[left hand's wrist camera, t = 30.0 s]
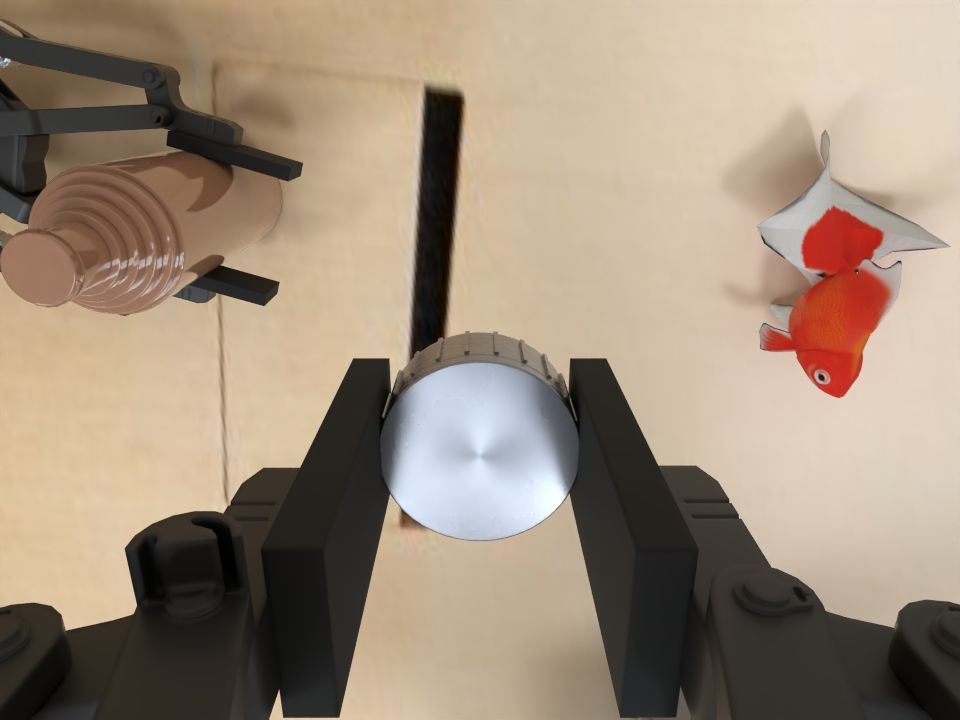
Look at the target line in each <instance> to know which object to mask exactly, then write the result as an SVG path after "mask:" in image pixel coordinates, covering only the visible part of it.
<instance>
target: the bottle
mask: <svg viewBox="0 0 960 720" xmlns="http://www.w3.org/2000/svg"><path fill="white" fill-rule="evenodd" d="M281 207H282V193H281V188H280V184H279V181H278V178H275V177H272V176H268V175H265V174H261V173H258V172H255V171H251V170H248V169H245V168H241V167H238V166H234V165H231V164H228V163H224V162H221V161H217V160H214V159H211V158H207V157H204V156H201V155H197V154H194V153H190V152H187V151H184V150H180V149H178V150H172V151H166V152H160V153H154V154H148V155H142V156H136V157H130V158H125V159H119V160H113V161H107V162H101V163H95V164H89V165H83V166H78V167H75V168H71V169H69V170H67V171H65V172H62V173H61V174H59V175H58V176H56V177H55V178H54V179H52V180H51V181H50V182H49V183H48V184H47V185H46V187H45V188H44V189H43V190H42V192H41V193H40V194H39V196H38V197H37V199H36V201H35V202H34V204H33V207H32V210H31V213H30V217H29V223H28V229H26V230H24V231H21V232H18V233H16V234H15V235H14V236H13V237H11V238H10V239H9V240H8V242H7V243H6V244H5V246H4V248H3V250H2V252H1V256H0V267H1V271H2V274H3V277H4V279H5V281H6V283H7V284H8V285H9V287H10V288H11V289H12V290H13V291H14V292H15V293H16V294H17V295H18V296H20V297H21V298H23V299H24V300H26V301H28V302H31V303H33V304H35V305H37V306H43V307H58V306H60V305H63V304H66V303H67V302H70V301H73V302H74V303H76V304H78V305H80V306H82V307H85V308H87V309H90V310H93V311H97V312H101V313H109V314H134V313H139V312H143V311H146V310H149V309H151V308H153V307H155V306H157V305H158V304H160V303H162V302H163V301H165V300H166V299H168V298H170V297H171V296H173V295H174V294H176V293H177V292H179V291H180V290H182V289H184V288H185V287H187V286H188V285H190V284H191V283H193V282H194V281H196V280H198V279H199V278H201V277H202V276H204V275H205V274H207V273H208V272H210V271H212V270H213V269H215V268H216V267H218V266H219V265H221V264H222V263H224V262H226V261H227V260H229V259H230V258H232V257H233V256H235V255H236V254H238V253H240V252H241V251H243V250H244V249H246V248H247V247H249V246H250V245H252V244H253V243H255V242H257V241H258V240H260V239H261V238H263V237H264V236H266V235H267V234H268V233H269V232H270V231H271V230H272V229H273V227H274V226H275V224H276V223H277V220H278V218H279V216H280V212H281Z"/></svg>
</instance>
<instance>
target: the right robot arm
mask: <svg viewBox="0 0 960 720" xmlns="http://www.w3.org/2000/svg"><path fill="white" fill-rule="evenodd" d="M21 63H23V64H28V65H33V66H38V67H43V68H48V69H53V70H58V71H63V72H67V73H72V74H77V75H82V76H87V77H92V78H97V79H102V80H107V81H112V82H116V83H121V84H126V85H131V86H136V87H141V88H145V92H146V97H147V101H148V104H145V105H124V106H104V107H84V108H64V109H44V110H30V109H29V108H28V107H27V106H26V105H25V104H24V103H23V102H22V101H21V100H20V99H19V98H18V96H17V95H16V94H15V93H14V92H13V91H12V90H11V89H10V88H9V87H8V86H7V85H6V84H5V83H4V82H3V81H2V79H1V78H0V213H2V212H3V213H5V214H6V215H8V216H9V217H11V218H13V219H14V220H16V221H18V222H20V223H24V224H28V223H29V217H30V213H31V210H32V207H33V204H34V202H35V201H36V199H37V197H38V196H39V194H40V193H41V192H42V190H43V189H44V188H45V187H46V177H47V175H46V170H45V165H44V159H45V156H46V154H47V151H48V148H49V134H55V133H76V132H96V131H116V130H137V129H159V128H164V129H168V130H171V131H168V136H167V144H166V145H167V146H170V147H174V148H177V149H180V150H184V151H187V152H190V153H194V154H197V155H201V156H204V157H207V158H211V159H214V160H217V161H221V162H224V163H228V164H231V165H234V166H238V167H241V168H245V169H248V170H251V171H255V172H258V173H261V174H265V175H268V176H272V177H275V178H278V179H282V180H285V181H290V180H292V179H295V178H297V177H299V176H300V175H301V170H302V165H303V163H301V162H298V161H294V160H291V159H288V158H284V157H281V156H278V155H274V154H271V153H268V152H264V151H261V150H258V149H254V148H251V147H248V146H244V145H241V140H242V134H243V128H242V127H240V126H239V125H238V124H236V123H235V122H232V121H229V120H225V119H222V118H219V117H215V116H212V115H209V114H206V113H202V112H199V111H196V110H192V109H190V108H188V107H187V106H186V105H185V104H184V103H183V101H182V100H181V97H180V92H179V87H178V86H179V84H180V75H179V73H178V71H176V70H175V69H174V68H172V67H170V66H166V65H161V64H156V63H151V62H146V61H141V60H137V59H132V58H127V57H122V56H117V55H112V54H108V53H103V52H98V51H93V50H88V49H83V48H79V47H74V46H69V45H64V44H59V43H54V42H50V41H45V40H40V39H38V38H36V37H35V36H33V35H31V34H30V33H28V32H26V31H24V30H23V29H21V28H19V27H18V26H16V25H14V24H12V23H11V22H9V21H6V20H2V19H0V68H17V67H19V66H20V65H21ZM11 237H13V236H12V235H11V234H9V233H6V232H4V231H1V230H0V256H1V252H2V250H3V248H4V246H5V244H6V243H7V242H8V240H9V239H10V238H11ZM0 272H2V271H1V267H0ZM278 287H279V282H278V281H274V280H270V279H267V278H263V277H260V276H256V275H253V274H249V273H246V272H242V271H238V270H235V269H231V268H228V267H224V266H221V265H219V266H218V267H216V268H215V269H213V270H212V271H210V272H208V273H207V274H205V275H204V276H202V277H201V278H199V279H198V280H196V281H194V282H193V283H191V284H190V285H188V286H187V287H185V288H184V289H182V290H180V291H179V292H177V293H176V294H174V295H173V296H174V297H178V298H182V299H185V300H189V301H192V302H196V303H205V302H208V301H209V300H211V299H212V298H213V297H215V296H216V293H219V294H222V295H226V296H230V297H233V298H237V299H240V300H244V301H248V302H251V303H255V304H258V305H262V306H265V305H266V304H267V303H268V302H269V301H270V300H271V299H272V298H273V297H274V296H275V295H276V294H277V292H278ZM119 315H123V316H126V315H129V314H119Z"/></svg>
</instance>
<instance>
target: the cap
mask: <svg viewBox="0 0 960 720" xmlns="http://www.w3.org/2000/svg"><path fill="white" fill-rule="evenodd" d="M382 421H383V423H382V426H381V430H380V448H381V465H382V477H383V480H384V483H385V485H386V487H387V489H388V491H389V492H390V494H391V495H392V497H393V498H394V500H395V501H396V503H397V504H398V505H399V506H400V507H401V508H402V509H403V511H405V512H406V513H407V514H408V515H409V516H410V517H411V518H412V519H414V520H415V521H417V522H418V523H420V524H421V525H423V526H425V527H426V528H428V529H430V530H432V531H434V532H437V533H440V534H442V535H445V536H448V537H452V538H456V539H462V540H469V541H488V540H497V539H502V538H507V537H511V536H514V535H517V534H520V533H522V532H524V531H527V530H529V529H531V528H533V527H534V526H536V525H538V524H540V523H541V522H542V521H544V520H545V519H546V518H548V517H549V516H550V515H551V514H552V513H553V512H554V511H555V510H556V509H557V508H558V507H559V506H560V505H561V504H562V503H563V501H564V500H565V499H566V497H567V496H568V494H569V492H570V491H571V489H572V487H573V485H574V483H575V480H576V478H577V473H578V457H579V439H580V434H579V429H578V426H577V418H576V415H575V411H574V408H573V405H572V401H571V398H570V396H569V394H568V390H567V387H566V384H565V380H564V377H563V375H562V373H560V374H558V372H557V371H556V369H555V368H554V367H553V365H552V364H551V363H550V362H549V361H548V359H547V356H546V355H545V354H543V355H541V354H540V353H539V352H538V351H536V350H535V349H533V348H532V347H530V346H528V345H527V344H525V342H524V340H522V339H520V341H518V340H516V339H514V338H510V337H507V336H504V335H499V334H498V332H493V333H470V331H466V332H465V334H460V335H456V336H452V337H449V338H446V339H443V338H440V339H438V342H436V343H434V344H432V345H430V346H429V347H427V348H426V349H424V350H423V351H421V352H419V351H417V352H416V353H415V356H414V358H413V359H412V360H411V361H410V362H409V363H408V365H407V366H406V367H405V368H404V369H403V371H401V370H399V372H398V374H397V378H396V381H395V384H394V387H393V390H392V393H389V396H388V399H387V402H386V406H385V409H384V412H383V415H382Z"/></svg>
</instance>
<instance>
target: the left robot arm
mask: <svg viewBox="0 0 960 720" xmlns="http://www.w3.org/2000/svg"><path fill="white" fill-rule="evenodd" d="M389 393H391V383H390V363H389V359H353V360H352V362H351V364H350V367H349V369H348V371H347V373H346V375H345V377H344V379H343V381H342V383H341V385H340V387H339V389H338V391H337V393H336V395H335V397H334V399H333V401H332V404H331V406H330V408H329V410H328V412H327V414H326V416H325V418H324V420H323V422H322V424H321V426H320V428H319V430H318V432H317V434H316V436H315V438H314V441H313V443H312V445H311V447H310V449H309V451H308V453H307V455H306V457H305V459H304V461H303V463H302V465H301V467H300V468H263V469H261V470H260V471H259V472H257V473H256V474H255V475H253V476H252V477H250V478H249V479H248V480H246V481H245V482H243V483H242V484H241V486H240V488H239V489H238V491H237V492H236V494H235V496H234V497H233V499H232V500H231V505H230V506H228V507H227V509H226V510H225V512H224V513H219V512H216V511H194V512H189V513H184V514H179V515H174V516H171V517H169V518H166V519H163V520H161V521H158V522H156V523H153V524H151V525H150V526H148V527H147V528H145V529H144V530H142V531H141V532H140V533H138V534H137V535H135V536H134V537H133V539H132V540H131V541H130V542H129V544H128V545H127V546H126V548H125V552H126V557H127V561H128V566H129V570H130V575H131V579H132V584H133V588H134V593H135V598H136V602H137V607H136V610H135V612H134V614H133V615H130V616H127V617H123V618H120V619H116V620H113V621H108V622H104V623H99V624H95V625H90V626H85V627H81V628H76V629H72V630H67V631H66V630H65V626H64V622H63V619H62V615H61V614H60V613H59V612H58V611H56V610H55V609H54V608H53V607H52V606H48V605H43V604H38V603H25V604H15V605H9V606H6V607H2V608H0V720H269V718H270V715H271V712H272V709H273V706H274V703H275V700H276V697H277V694H278V691H279V689H280V697H281V704H282V711H283V718H339V716H340V712H341V707H342V703H343V699H344V694H345V690H346V685H347V681H348V677H349V672H350V668H351V663H352V659H353V655H354V650H355V646H356V641H357V637H358V633H359V628H360V624H361V619H362V615H363V610H364V606H365V602H366V597H367V593H368V588H369V584H370V580H371V575H372V571H373V566H374V562H375V558H376V553H377V549H378V544H379V540H380V536H381V531H382V527H383V522H384V518H385V513H386V509H387V505H388V500H389V496H390V492H389V491H388V489H387V487H386V485H385V483H384V480H383V477H382V465H381V448H380V430H381V426H382V423H383V421H382V415H383V412H384V409H385V406H386V402H387V399H388V396H389ZM569 396H570V398H571V401H572V405H573V408H574V411H575V415H576V418H577V426H578V429H579V434H580V439H579V457H578V473H577V478H576V480H575V483H574V485H573V487H572V489H571V491H570V492H569V493H570V498H571V502H572V507H573V511H574V515H575V520H576V524H577V529H578V533H579V537H580V542H581V546H582V551H583V555H584V559H585V564H586V568H587V573H588V577H589V582H590V586H591V590H592V595H593V599H594V604H595V608H596V612H597V617H598V621H599V626H600V630H601V634H602V639H603V643H604V648H605V652H606V656H607V661H608V665H609V670H610V674H611V679H612V683H613V687H614V692H615V696H616V701H617V705H618V709H619V714H620V718H636V719H637V720H960V605H959V604H955V603H951V602H946V601H935V600H922V601H917V602H912V603H908V604H907V605H906V606H905V607H904V608H903V609H902V610H900V611H899V613H898V617H897V620H896V624H895V628H892V627H888V626H883V625H878V624H874V623H869V622H865V621H860V620H855V619H851V618H847V617H843V616H840V615H836V614H833V613H829V612H827V611H825V609H824V606H823V604H822V603H821V601H820V600H819V598H818V597H817V595H816V594H815V592H814V591H813V590H812V589H811V588H809V587H808V586H807V585H805V584H804V583H803V582H802V581H800V580H799V579H798V578H796V577H794V576H791V575H789V574H787V573H785V572H783V571H780V570H778V569H775V568H771V566H770V564H769V563H768V561H767V559H766V558H765V556H764V555H763V553H762V551H761V550H760V548H759V547H758V545H757V543H756V542H755V540H754V539H753V537H752V535H751V534H750V532H749V531H748V529H747V527H746V526H745V524H744V523H743V521H742V519H739V514H738V513H737V511H736V510H735V508H734V506H733V505H732V503H729V498H728V497H727V495H726V494H725V492H724V490H723V489H722V487H721V486H720V484H719V482H718V481H717V480H715V479H714V478H712V477H711V476H710V475H708V474H707V473H706V472H704V471H703V470H701V469H700V468H699V467H697V466H658V464H657V462H656V460H655V458H654V456H653V454H652V452H651V450H650V448H649V446H648V444H647V441H646V439H645V437H644V435H643V433H642V431H641V429H640V427H639V425H638V423H637V421H636V419H635V417H634V415H633V413H632V411H631V409H630V407H629V404H628V402H627V400H626V398H625V396H624V394H623V392H622V390H621V388H620V386H619V384H618V382H617V380H616V378H615V376H614V374H613V372H612V370H611V367H610V365H609V363H608V361H607V359H570V374H569Z"/></svg>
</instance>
